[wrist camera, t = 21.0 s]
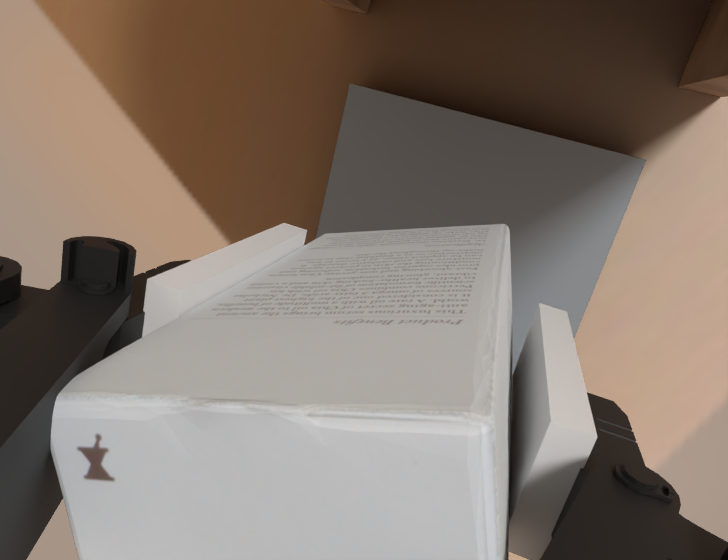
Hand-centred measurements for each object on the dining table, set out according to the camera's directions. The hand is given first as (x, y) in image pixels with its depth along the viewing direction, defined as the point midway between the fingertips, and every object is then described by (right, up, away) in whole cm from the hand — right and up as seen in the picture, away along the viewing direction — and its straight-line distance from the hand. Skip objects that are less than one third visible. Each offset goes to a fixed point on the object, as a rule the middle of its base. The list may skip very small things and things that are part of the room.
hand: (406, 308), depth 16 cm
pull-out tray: (+4, +3, +15) cm, 16 cm away
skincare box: (+1, +1, +2) cm, 2 cm away
